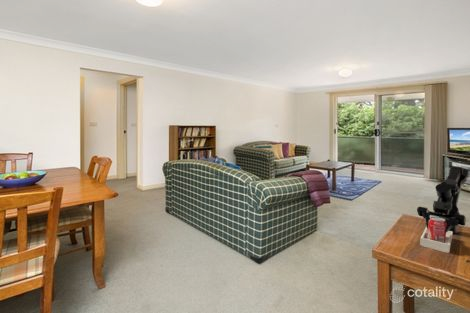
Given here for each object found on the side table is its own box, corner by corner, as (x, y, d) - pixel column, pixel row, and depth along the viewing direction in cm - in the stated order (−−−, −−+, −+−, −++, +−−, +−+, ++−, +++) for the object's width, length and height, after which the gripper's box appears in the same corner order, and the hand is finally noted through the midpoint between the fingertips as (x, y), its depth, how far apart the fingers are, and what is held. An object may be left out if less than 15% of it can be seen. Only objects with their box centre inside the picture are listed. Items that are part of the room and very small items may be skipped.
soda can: (433, 238, 130) (434, 215, 129) (448, 244, 124) (450, 220, 122) (423, 240, 128) (425, 217, 127) (439, 246, 121) (441, 222, 120)
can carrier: (425, 232, 141) (426, 226, 141) (451, 238, 134) (452, 231, 133) (419, 245, 126) (420, 237, 125) (449, 253, 118) (449, 244, 118)
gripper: (419, 191, 133) (410, 216, 127) (467, 198, 118) (459, 227, 113) (422, 203, 139) (414, 227, 133) (468, 211, 124) (461, 239, 119)
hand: (436, 230), depth 124 cm, fingers closed on soda can, 7 cm apart
